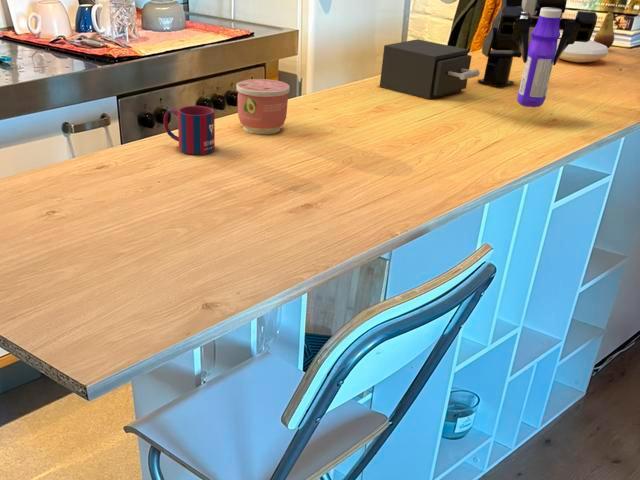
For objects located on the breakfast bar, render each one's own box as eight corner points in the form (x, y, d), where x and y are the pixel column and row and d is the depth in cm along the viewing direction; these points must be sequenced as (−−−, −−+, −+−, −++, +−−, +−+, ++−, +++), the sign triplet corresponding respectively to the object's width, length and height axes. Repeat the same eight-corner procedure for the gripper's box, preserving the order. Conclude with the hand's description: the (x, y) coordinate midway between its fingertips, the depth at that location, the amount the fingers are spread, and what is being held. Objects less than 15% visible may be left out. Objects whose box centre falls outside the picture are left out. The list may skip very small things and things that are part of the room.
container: (228, 123, 166) (228, 80, 161) (275, 119, 170) (277, 77, 164) (247, 137, 159) (248, 93, 154) (295, 133, 162) (298, 89, 157)
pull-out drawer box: (482, 92, 189) (489, 59, 185) (453, 100, 183) (459, 65, 179) (420, 77, 199) (424, 45, 195) (390, 84, 193) (394, 51, 189)
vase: (538, 60, 224) (545, 31, 219) (557, 51, 234) (564, 23, 229) (595, 69, 217) (603, 39, 212) (612, 60, 227) (620, 31, 222)
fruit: (614, 50, 238) (627, 2, 230) (605, 52, 235) (619, 4, 227) (596, 47, 241) (609, -1, 233) (587, 49, 238) (600, 1, 230)
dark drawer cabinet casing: (461, 91, 194) (468, 49, 188) (429, 99, 187) (435, 56, 181) (412, 79, 202) (417, 39, 196) (379, 86, 195) (384, 45, 189)
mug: (202, 157, 149) (201, 117, 144) (157, 147, 153) (155, 108, 148) (221, 148, 153) (221, 109, 149) (177, 139, 157) (176, 101, 153)
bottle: (544, 109, 168) (568, 12, 157) (516, 107, 169) (538, 10, 158) (542, 100, 174) (565, 6, 162) (515, 98, 175) (536, 4, 163)
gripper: (512, -43, 160) (498, 32, 159) (610, -36, 157) (597, 40, 156) (503, -2, 171) (490, 68, 170) (595, 4, 168) (583, 76, 167)
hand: (539, 62), depth 165 cm, fingers closed on bottle, 5 cm apart
